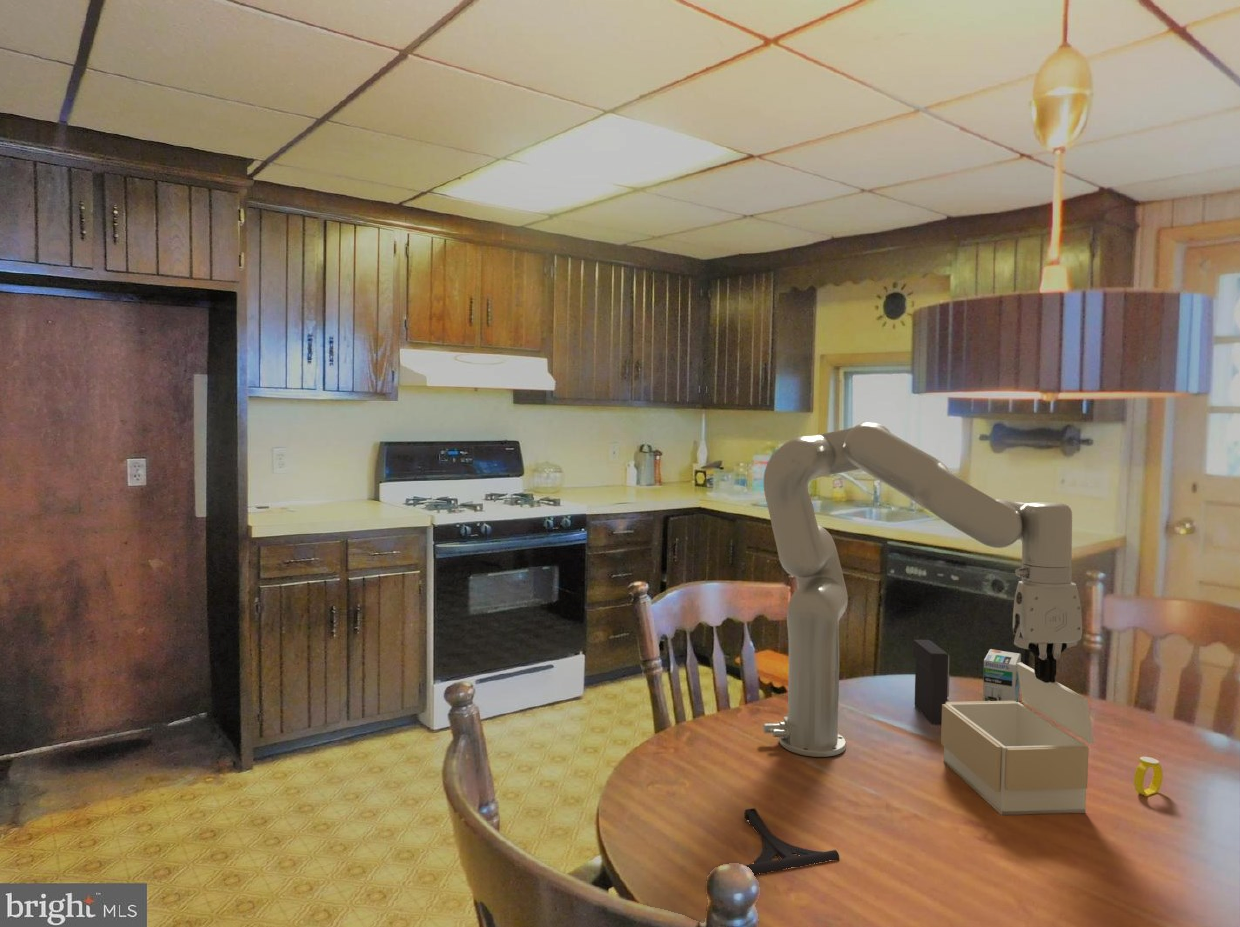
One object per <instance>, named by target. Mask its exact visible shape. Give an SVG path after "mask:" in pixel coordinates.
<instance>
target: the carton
mask: <svg viewBox="0 0 1240 927" xmlns="http://www.w3.org/2000/svg"><path fill="white" fill-rule="evenodd" d="M940 732H941V734H940V744H941V745H942V746H943V748H944V749H943V763H945V765H947V767H949V768H950V769H951V770H952V771H953V772H954V773H955V774H956V775H957V776H959V777H960V778H961V780H963V782H965V783H966V784H967V785H968V786H969V787H970V788H971V789H972V790H974V791H975V792H976V793H977V794H978V795H979V796H980V797H981V798H982V799H983V800H984V801H986V802H987V803H988V804H989V805H990V806H991V807H992V808H993V809H994V810H995V811H996V812H998V814H1000V815H1001V816H1010V815H1011V816H1012V815H1013V816H1014V815H1015V816H1016V815H1018V816H1019V815H1045V814H1046V815H1047V814H1051V815H1053V814H1056V815H1057V814H1083V813H1086V810H1087V809H1086V806H1087V805H1086V804H1087V789H1088V778H1089V777H1088V776H1089V752H1090V750H1089V749H1090V748H1089V746H1088V745H1087V744H1085V743H1084V742H1083V741H1081V740H1079V739H1078V738H1076V737H1074V735H1071V734H1070V733H1068V732H1066V731H1065V730H1063V729H1062V728H1060V727H1059V726H1057V725H1055V724H1054V723H1052V722H1051V721H1049V720H1048V719H1046V718H1044V717H1043V716H1041V715H1040V714H1038V713H1036V711H1033V710H1032V709H1030V708H1029V707H1027V706H1026V705H1024V704H1022V703H1021V702H1020V701H1019V702H1016V701H983V700H982V701H981V700H979V701H978V700H977V701H973V700H971V701H949V702H945V704H942V724H941V730H940Z"/></svg>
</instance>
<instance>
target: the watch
mask: <svg viewBox="0 0 1240 927" xmlns="http://www.w3.org/2000/svg"><path fill="white" fill-rule="evenodd" d="M1150 767H1151V768H1152V769H1153V770H1152V773H1153V774H1152V779H1151V783H1150V784H1149V786H1148V788H1146V789H1145V788H1144V778H1145V775H1146V772H1147V771H1148V770H1149V768H1150ZM1133 777H1134V778H1133V779H1134V780H1133V785H1134V790H1135V791H1136V792H1137V793H1138V794H1139V795H1141V796H1143V795H1144V796H1143V797H1149V796H1152V795H1154V794H1155V795H1156V794H1157V793H1158V791H1159V790H1160V788H1161V785H1162V782H1163V769H1162V766H1161V763H1160V761H1159V760H1158V759H1156V758H1153V757H1149V756H1140V757H1139V764H1138V765H1137V767H1136V770H1135V772H1134V776H1133Z"/></svg>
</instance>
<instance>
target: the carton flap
mask: <svg viewBox="0 0 1240 927" xmlns="http://www.w3.org/2000/svg"><path fill="white" fill-rule="evenodd" d="M1017 669H1018V676H1019V682H1020V696H1021V701H1022V703H1024V704H1026V705H1027V706H1029V707H1030V708H1031V709H1034V710H1035V711H1037V712H1039V713H1040V714H1041V715H1043V716H1044V717H1046V718H1048V719H1050V720H1051V721H1052V722H1054V723H1056V724H1057V725H1059V726H1060V727H1062V728H1064V729H1065V730H1067V731H1068V732H1070V733H1072V734H1073V735H1075V736H1076V737H1078V738H1080V739H1081V740H1083V741H1084V742H1086V743H1087V744H1089V745H1090V744H1094V743H1095V740H1094V733H1093V726H1092V721H1091V720H1092V719H1091V714H1090V705H1089V700H1088V697H1085V696H1084V695H1081V694H1080V693H1078V692H1076V691H1074V690H1072V689H1070V687H1067V686H1065V685H1063V684H1062V683H1059V682H1057V681H1056V680H1055V682H1054V683H1051V682H1049V683H1045V682H1043V681H1041V680H1039V679H1037V678H1036V675H1035V673H1034V669H1033V668H1032V667H1030V666H1028V665H1026V664H1025V663H1023V662H1022V661H1021V662H1020V663H1017Z"/></svg>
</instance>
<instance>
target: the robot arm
mask: <svg viewBox="0 0 1240 927" xmlns="http://www.w3.org/2000/svg"><path fill="white" fill-rule="evenodd" d="M858 470H861V471H864V472H865V473H867V474H868V475H870V476H872V477H873V478H875V479H877V480H879V481H880V482H881V483H884V484H885V485H887V486H889V487H891V488H892V489H894V490H895V491H897V492H898V493H900V494H902V495H904V496H905V497H907V498H908V499H910V500H912V501H914V502H915V503H916V504H917V505H919V506H920V507H921V508H924V509H926V511H929V512H930V513H931V514H933V515H935V516H937V518H939V519H940V520H942V521H943V522H945V523H947V524H948V525H950V526H952V527H953V528H955V529H956V530H959V531H960V532H962V533H964V534H965V535H967V536H969V537H971V539H974V540H976V542H979V543H981V544H983V545H985V546H987V547H991V548H995V549H1001V548H1002V549H1003V548H1007V547H1009V546H1012V545H1013V544H1014V543H1016V542H1017V541H1021V543H1022V545H1021V564H1020V568H1015V571H1014V574H1015V576H1016V577H1020V579H1021V580H1019V581H1018V583H1017V586H1016V590H1015V593H1014V594H1015V596H1014V600H1013V610H1012V611H1013V612H1012V633H1013V635H1014V636H1015V637H1014V639H1013V640H1014V641H1013V645H1014V646H1015V647H1017V648H1020V649H1024V650H1027V651H1029V653H1030V654H1031V655H1032V656H1033V657H1034V661H1033V662H1034V666H1033V667H1034V673H1035V675H1036V678H1037V679H1039V680H1041V681H1043V682H1045V683H1049V682H1051V683H1054V682H1055V681H1056V676H1057V660H1060V658H1061V655H1062V653H1063V652H1064V651H1065V650H1066V649H1068V648H1069V649H1070V648H1072V647H1075V646H1077V645H1078V642H1079V641H1080V640H1081V639H1082V637H1083V618H1082V616H1083V615H1082V605H1081V600H1080V595H1079V590H1078V587H1077V584H1076V583H1075V582H1073V581H1072V572H1073V571H1072V570H1073V569H1072V563H1073V562H1072V557H1073V556H1072V554H1073V552H1072V551H1073V550H1072V549H1073V548H1072V547H1073V542H1072V541H1073V512H1072V509H1071V507H1070V506H1069V505H1067V504H1065V503H1059V502H1052V501H1051V502H1050V501H1049V502H1048V501H1043V502H1042V501H1037V502H1036V501H1035V502H1030V503H1028V502H1022V501H1014V500H1007V499H1006V500H1005V499H998V498H997V499H995V498H993V497H992V496H989V495H988V494H986V493H984V492H982V491H981V490H979V489H978V488H975V486H972V485H970V484H969V483H968V482H966V481H964V480H963V479H961V478H960V477H958V476H957V475H956V474H954V473H953V471H951V470H950V469H949V467H947V466H946V465H945V464H944V463H943V462H942V461H941V460H939V459H937V458H936V457H934V456H933V455H931V454H930V453H927V452H925V451H923V450H922V449H920V448H918V447H916V446H914V445H913V444H911V443H910V442H909V443H908V442H907V441H905V440H903V439H902V438H901V437H899V436H897V435H895V434H894V433H892V432H891V431H890V430H889V429H888V428H887V427H886V426H884V425H883V424H881V423H877V422H863V423H859V424H856V425H855V426H852V427H849V428H845V429H839V430H835V431H830V432H824V433H819V434H813V435H802V436H801V435H800V436H798V437H794V438H792V439H790V440H788V441H787V442H785V443H784V444H782V445H781V446H780V447H779V448H777V449H776V450H775V452H774V453H773V454H772V456H771V457H770V458H769V460H768V462H767V464H766V466H765V469H764V474H763V493H764V497H765V500H766V506H767V509H768V514H769V518H770V523H771V528H772V532H773V538H774V541H775V545H776V549H777V555H778V560H779V563H780V565H781V567H782V568H783V569H784V571H785V572H786V573H787V574H789V575H790V576H791V577H795V579H796V584H797V587H798V588H797V589H796V590H795V591H794V592H793V593H792V595H791V596H790V598H789V600H788V604H787V609H786V625H787V634H788V635H787V637H788V684H787V685H788V686H787V687H788V689H787V693H788V694H787V695H788V696H787V716H783V720H781V721H779V722H778V723H773V722H764V723H763V724H762V729H763V733H764V734H772V737H773V738H779V744H780V745H781V746H782V747H783V748H785V749H786V750H787V751H789V752H792V753H794V754H798V755H802V756H805V757H812V758H813V757H814V758H827V757H833V756H837V755H840V754H842V753H844V751H845V750H846V748H847V741H846V739H845V738H844V737H843V736H842V735H841V734H839V732H838V731H839V693H840V692H839V690H840V689H839V688H840V687H839V686H840V685H839V684H840V683H839V682H840V677H839V676H840V639H839V638H840V637H839V622H840V619H841V618H842V617H843V615H844V613H845V612H846V610H847V607H848V602H849V599H848V598H849V596H848V591H847V586H846V582H845V578H844V575H843V574H844V573H843V570H842V565H841V561H840V557H839V553H838V550H837V546H836V544H835V543H836V542H835V541H834V539H833V537H832V535H831V534H830V532H829V531H828V530H827V529H826V528H825V527H823V526H821V525H818V521H817V518H816V514H815V509H814V505H813V501H812V498H811V496H810V492H809V483H810V482H811V481H812V480H814V479H815V480H816V479H818V478H821V477H825V476H830V475H836V474H841V473H846V472H852V471H858Z"/></svg>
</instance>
